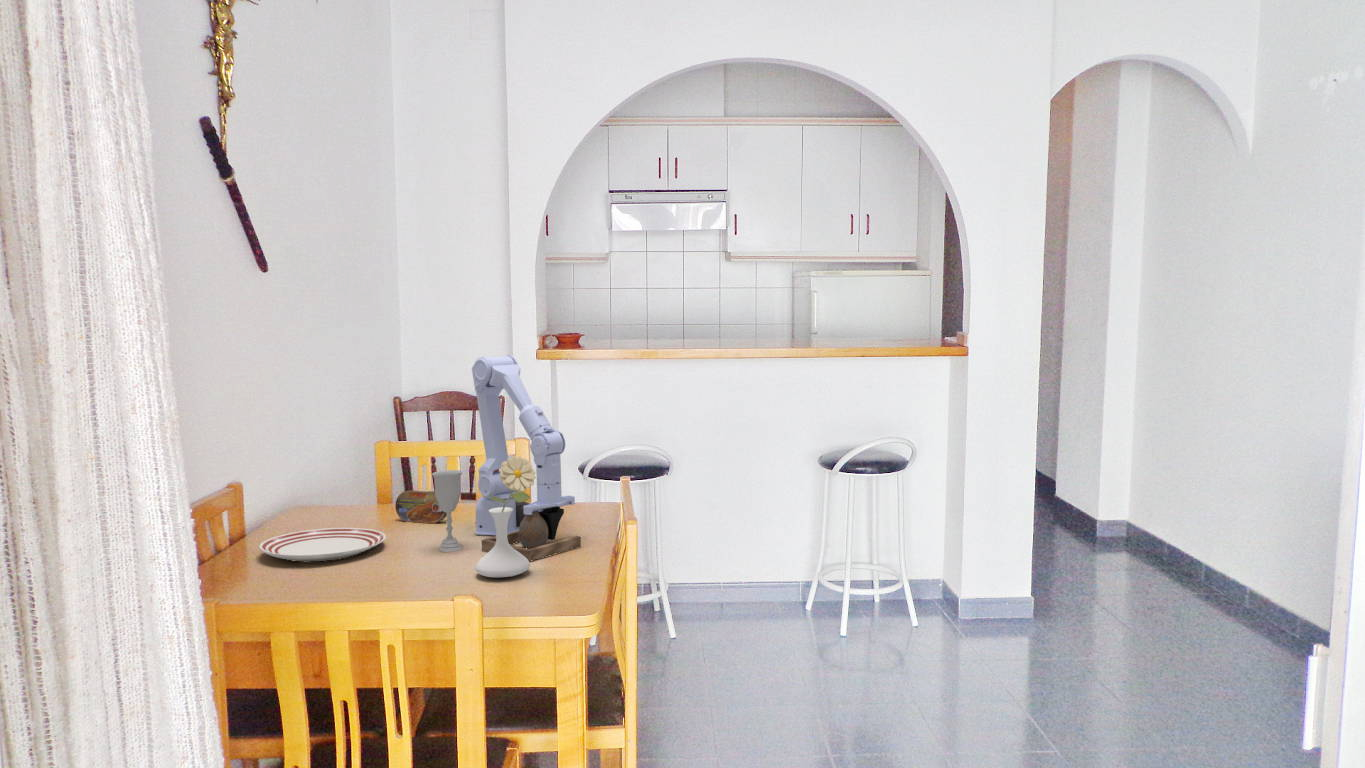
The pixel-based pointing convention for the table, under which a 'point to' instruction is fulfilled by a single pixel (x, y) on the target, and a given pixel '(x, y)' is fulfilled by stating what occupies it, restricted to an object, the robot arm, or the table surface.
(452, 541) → the chalice
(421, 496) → the tin
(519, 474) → the flower in vase
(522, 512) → the perforated stone tool
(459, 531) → the table surface
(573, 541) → the tray
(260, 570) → the table surface
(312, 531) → the dinner plate
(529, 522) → the vase
